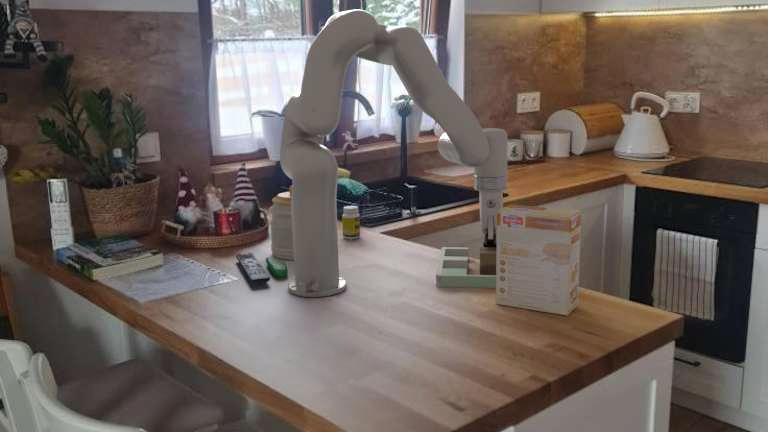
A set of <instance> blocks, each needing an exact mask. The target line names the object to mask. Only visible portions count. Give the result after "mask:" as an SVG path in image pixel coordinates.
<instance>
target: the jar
mask: <svg viewBox="0 0 768 432" xmlns="http://www.w3.org/2000/svg"><path fill="white" fill-rule="evenodd" d="M291 198H292V185H290V186H289V188H288V191H283V192H280V193H278V194H276V196H275V197H273V198H272V199H271V202H272V203H273V205H272V206H270V207H269V208H268V211H269V213H270V215H271V219H270V221H269V225H270V236H271V244H270V247H271V249H270V250H271V252H272V256H273V257H274V258H276V259H280V260H288V261H294V250H293V229H292V212H291Z"/></svg>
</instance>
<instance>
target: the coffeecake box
mask: <svg viewBox="0 0 768 432" xmlns="http://www.w3.org/2000/svg"><path fill="white" fill-rule="evenodd" d="M581 225H582V210H577V209H566V208H554V207H545V206H543V207H542V206H531V205H519V204H507V205H505V206H503V208H501V209H499V210H497V229H496V232H497V234H496V242H497V250H496V288H495V305H498V306H499V305H500V306H507V307H514V308H518V309H525V310H532V311H538V312H542V313H549V314H556V315H560V316H561V315H562V316H566V317H568V316H569V315H570V314H571V312H573V311H574V310H575V309H576V308H578V306H579V288H580V287H579V284H580V282H579V281H580V280H579V279H580V261H581V260H580V255H581V254H580V253H581V232H582V230H581V227H582V226H581Z"/></svg>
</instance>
